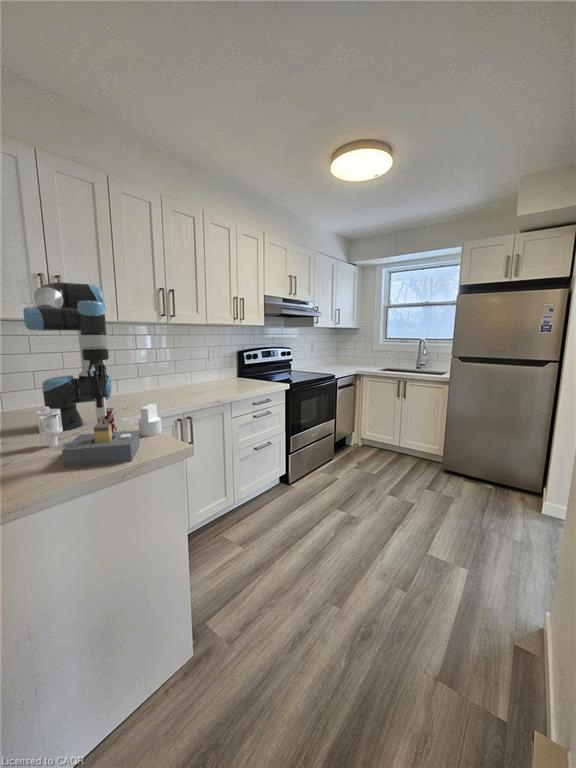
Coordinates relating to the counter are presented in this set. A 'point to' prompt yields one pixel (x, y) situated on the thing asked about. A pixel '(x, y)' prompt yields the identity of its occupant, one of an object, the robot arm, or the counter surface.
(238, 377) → the counter surface
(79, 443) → the socket board
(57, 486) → the counter surface
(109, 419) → the soda can
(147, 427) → the cylinder with rectangular tab
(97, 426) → the rectangular block
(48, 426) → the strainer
